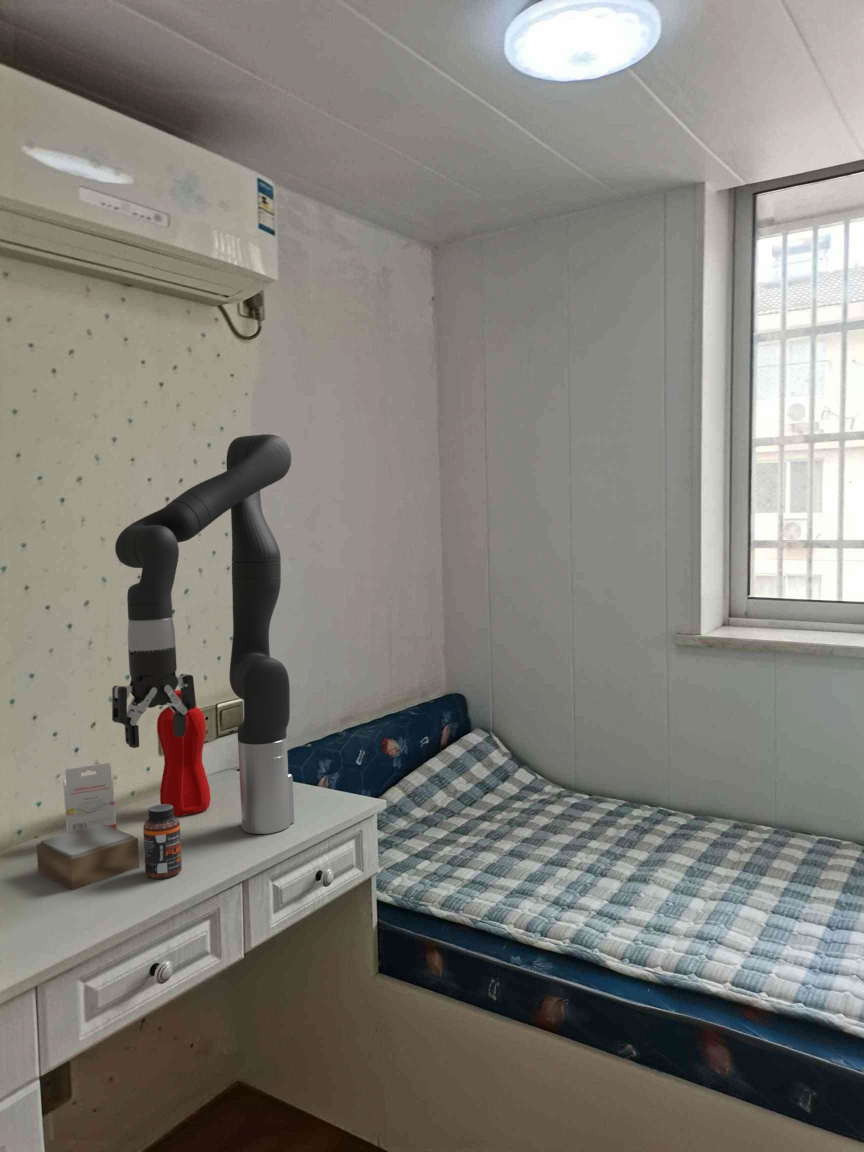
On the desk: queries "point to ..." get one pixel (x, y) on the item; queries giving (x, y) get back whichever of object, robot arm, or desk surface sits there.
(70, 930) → the desk surface
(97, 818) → the ink cartridge box
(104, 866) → the wooden rimmed tray
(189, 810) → the water bottle
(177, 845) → the supplement bottle
